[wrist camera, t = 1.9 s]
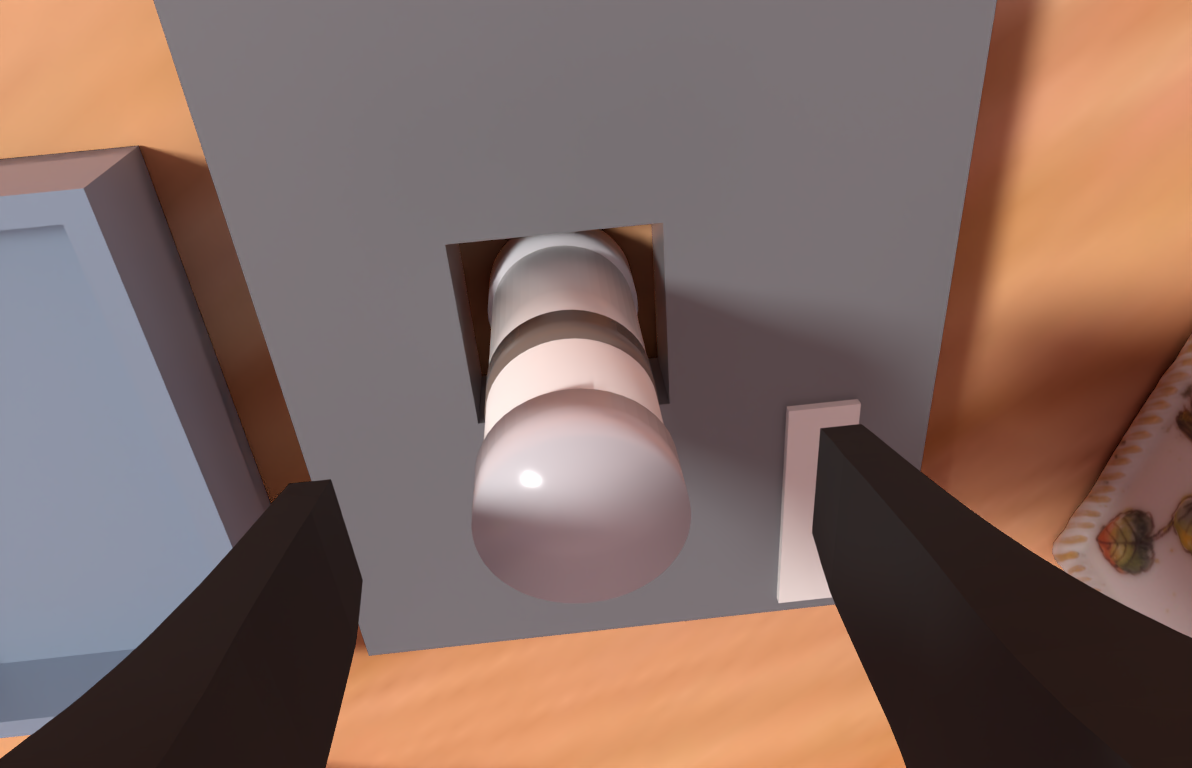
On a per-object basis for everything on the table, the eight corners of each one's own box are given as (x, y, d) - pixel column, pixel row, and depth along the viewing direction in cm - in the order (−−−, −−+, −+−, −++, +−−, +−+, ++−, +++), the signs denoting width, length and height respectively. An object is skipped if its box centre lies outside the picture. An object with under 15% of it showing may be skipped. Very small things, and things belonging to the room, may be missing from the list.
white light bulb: (635, 341, 20) (692, 591, 13) (500, 355, 20) (488, 613, 13) (628, 212, 18) (689, 424, 12) (479, 226, 18) (453, 449, 11)
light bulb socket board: (873, 544, 24) (903, 603, 22) (379, 598, 24) (368, 661, 22) (959, -103, 16) (1019, -97, 14) (189, -31, 15) (143, -15, 13)
